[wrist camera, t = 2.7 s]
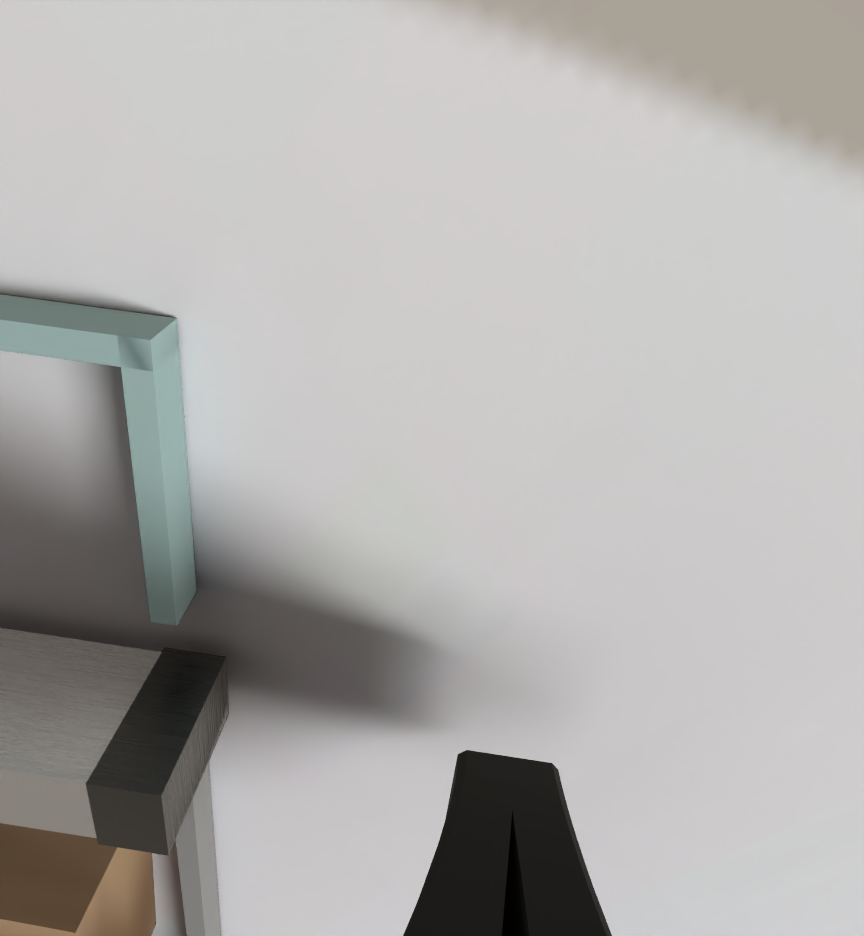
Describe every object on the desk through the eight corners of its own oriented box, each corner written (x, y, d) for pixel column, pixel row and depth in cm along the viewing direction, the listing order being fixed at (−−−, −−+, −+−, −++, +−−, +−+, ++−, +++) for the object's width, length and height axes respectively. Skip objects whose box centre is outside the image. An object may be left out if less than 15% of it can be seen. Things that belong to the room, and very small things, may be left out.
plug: (160, 913, 17) (97, 1069, 14) (-53, 873, 17) (-154, 1022, 15) (152, 775, 15) (75, 933, 12) (-97, 728, 15) (-229, 876, 12)
